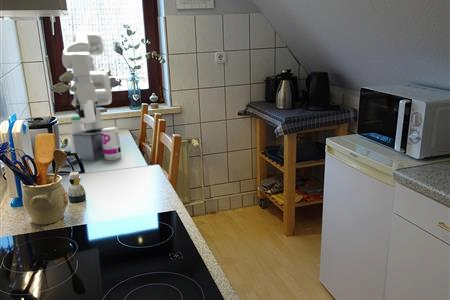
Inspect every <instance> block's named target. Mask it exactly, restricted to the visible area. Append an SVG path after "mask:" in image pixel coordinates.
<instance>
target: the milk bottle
mask: <svg viewBox="0 0 450 300" xmlns="http://www.w3.org/2000/svg"><path fill="white" fill-rule="evenodd" d="M70 121H71V123H72V124H71V128H70V139H71V140H70V141H71V145H72V146H71V147H72V153H73V152H75V147H74V140H73V134H74V133H78V132H82V131H86V128H85V126H83V123H82V120H81V118H80V117H79V115H75V116H71V117H70Z"/></svg>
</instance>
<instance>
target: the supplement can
mask: <svg viewBox="0 0 450 300" xmlns="http://www.w3.org/2000/svg"><path fill="white" fill-rule="evenodd" d="M119 132H120V131H119V129H118V127H116V126H110V127H107V126H106V127H103V129H102V131H101V137H102V144H103V151H104V158H103V159H105V160H106V161H113V160H114V161H115V160H119V159H120V158H121V157H122V156H123V155H122V149H121V148H122V147H121V141H120V133H119Z"/></svg>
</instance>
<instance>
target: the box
mask: <svg viewBox="0 0 450 300" xmlns="http://www.w3.org/2000/svg"><path fill="white" fill-rule="evenodd" d="M103 128H104V127H103ZM103 128H93V129H89V130H86V129H85V131H82V132H78V133H74V134H73V140H74V147H75V153H77V154H78V155H79V157H80V159H81V160H80V161H88V162H96V161H99V160H101V159H105V158H104V151H103V144H102V137H101V131H102V129H103Z"/></svg>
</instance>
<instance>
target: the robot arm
mask: <svg viewBox="0 0 450 300" xmlns="http://www.w3.org/2000/svg"><path fill="white" fill-rule="evenodd" d="M103 53H104V43H103V39H102V37H101V34H100V33H99V32H98V31H94V30H93V31H79V32H76V33H75V34H74V35H73V39H72V42H71V43H70V45H67V46H65V48H64V49H63V50H62V55H61V61H62V65H63V67H64V68H65V69H67V70H68V69H69V70H72V74H73V78H71V80H72V81H73V99H72V101H71V105H72V106H73V107H74V108H75V109H76V110H77V113H78V116H79V117H80V118H84V117H85V116H84V110H82V108H83V104H86V103H87V101H88V100H91V101H92V102H93V106H94V113H95V120H96V121H95V122H94V123H89V124H84V128H85V131H86V130H89V129H93V128H104V126H103V119H102V113H101V111H100V110H99V109H98V108H97V106H107V105H110V104H112V102H113V97H112V87H111V80H110V76H109V73H108V72H107V70H106V71H105V70H96V69H95V63H94V56H96V55H102V54H103Z"/></svg>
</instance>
